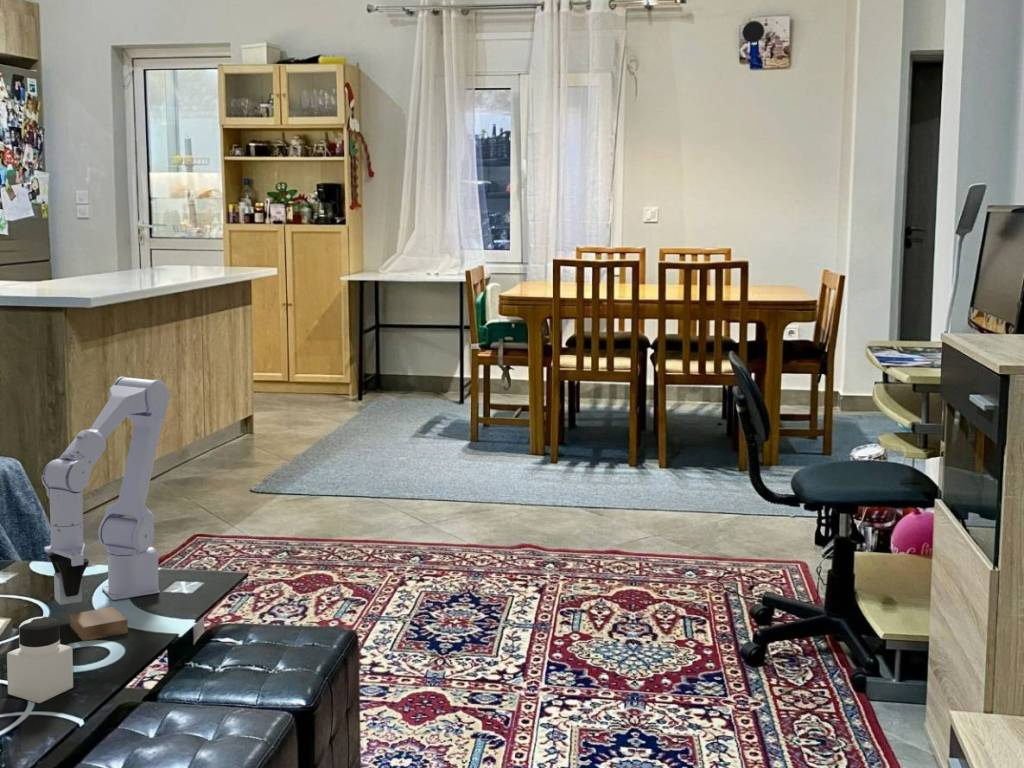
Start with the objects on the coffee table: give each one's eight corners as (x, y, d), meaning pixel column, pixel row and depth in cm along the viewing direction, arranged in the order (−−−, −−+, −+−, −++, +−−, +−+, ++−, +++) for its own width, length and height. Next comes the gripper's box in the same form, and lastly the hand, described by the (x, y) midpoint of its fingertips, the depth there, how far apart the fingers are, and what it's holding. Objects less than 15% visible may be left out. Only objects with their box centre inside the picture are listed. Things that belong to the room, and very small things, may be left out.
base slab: (113, 621, 213) (113, 606, 212) (127, 634, 207) (127, 619, 206) (70, 629, 208) (70, 614, 208) (83, 643, 202) (83, 627, 201)
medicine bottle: (74, 687, 182) (72, 618, 181) (39, 704, 176) (37, 632, 174) (42, 678, 185) (40, 610, 184) (6, 694, 179) (4, 623, 177)
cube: (76, 595, 214) (75, 570, 213) (82, 601, 211) (81, 575, 210) (54, 598, 212) (53, 573, 211) (60, 605, 208) (59, 579, 208)
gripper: (34, 515, 212) (36, 584, 214) (54, 535, 201) (56, 607, 203) (73, 511, 216) (75, 578, 218) (94, 530, 205) (96, 600, 207)
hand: (68, 591), depth 211 cm, fingers closed on cube, 4 cm apart
